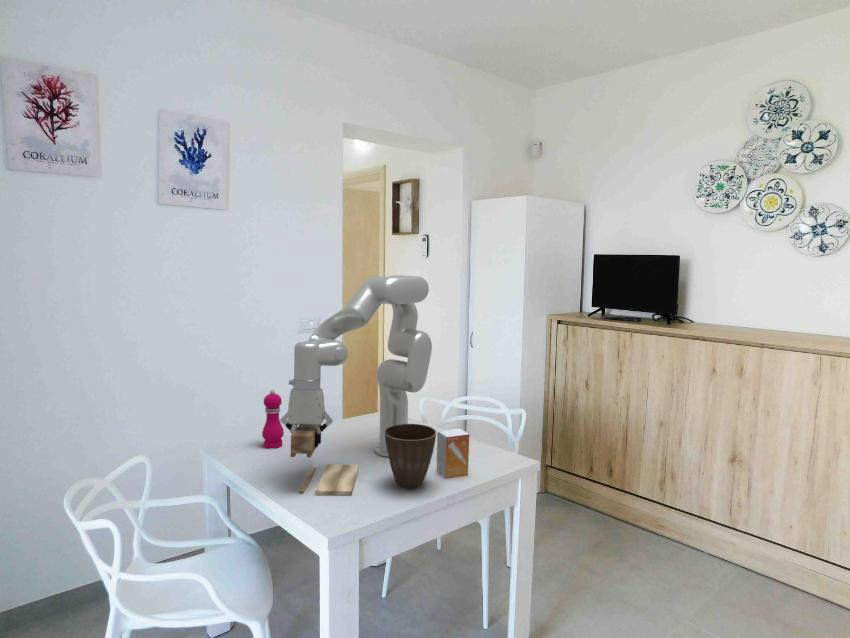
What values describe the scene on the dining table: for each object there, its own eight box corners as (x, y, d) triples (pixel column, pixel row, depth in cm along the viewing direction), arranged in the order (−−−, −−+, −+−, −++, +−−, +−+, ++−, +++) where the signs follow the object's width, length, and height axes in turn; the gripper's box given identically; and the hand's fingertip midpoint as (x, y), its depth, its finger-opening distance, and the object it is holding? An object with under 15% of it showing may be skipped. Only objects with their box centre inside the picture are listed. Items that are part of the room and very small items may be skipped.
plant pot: (445, 487, 159) (446, 433, 157) (402, 499, 150) (403, 443, 149) (416, 471, 171) (417, 421, 169) (374, 481, 162) (375, 428, 161)
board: (359, 468, 172) (359, 464, 172) (351, 495, 152) (351, 491, 152) (312, 467, 172) (312, 464, 172) (298, 494, 152) (298, 490, 152)
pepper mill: (257, 447, 190) (257, 390, 188) (271, 441, 196) (270, 386, 194) (275, 450, 187) (274, 392, 185) (288, 444, 194) (287, 388, 192)
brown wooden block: (320, 439, 169) (320, 420, 168) (310, 457, 153) (310, 436, 152) (302, 439, 169) (302, 420, 168) (290, 456, 153) (290, 435, 152)
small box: (445, 479, 165) (446, 436, 164) (436, 471, 171) (436, 430, 170) (468, 475, 169) (469, 433, 167) (459, 467, 174) (460, 427, 173)
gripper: (274, 386, 155) (273, 449, 157) (335, 388, 155) (333, 450, 157) (280, 381, 163) (280, 440, 164) (338, 382, 163) (337, 442, 165)
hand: (306, 445), depth 161 cm, fingers closed on brown wooden block, 5 cm apart
